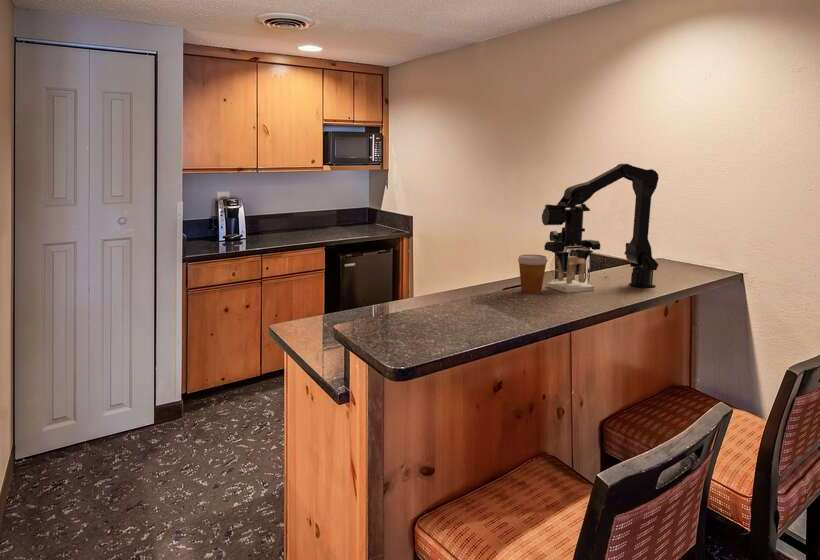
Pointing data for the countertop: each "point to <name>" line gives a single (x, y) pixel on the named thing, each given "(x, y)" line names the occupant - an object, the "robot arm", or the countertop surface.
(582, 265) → the maple stool
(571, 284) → the sage board
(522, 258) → the disposable coffee cup
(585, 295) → the countertop surface
